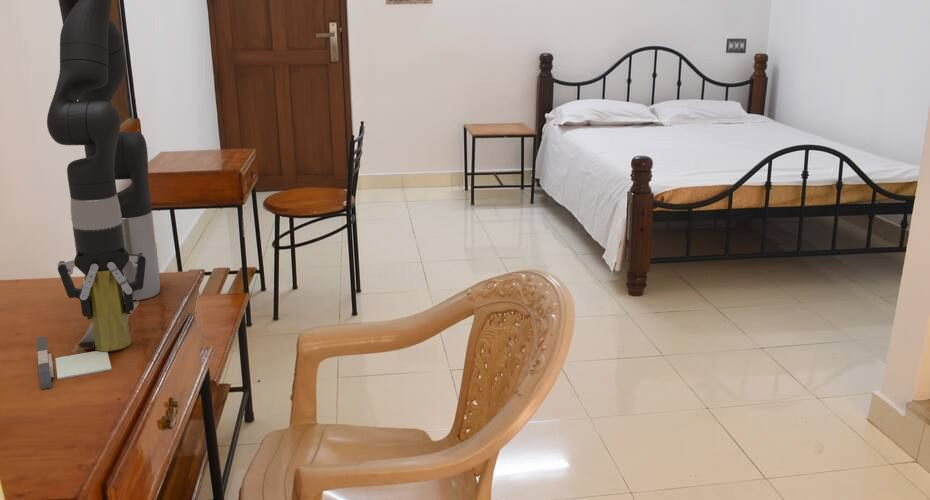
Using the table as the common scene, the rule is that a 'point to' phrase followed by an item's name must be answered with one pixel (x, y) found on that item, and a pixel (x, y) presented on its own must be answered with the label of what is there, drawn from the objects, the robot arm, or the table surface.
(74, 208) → the robot arm
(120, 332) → the vase
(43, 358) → the price rail
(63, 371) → the pad
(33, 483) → the table surface
